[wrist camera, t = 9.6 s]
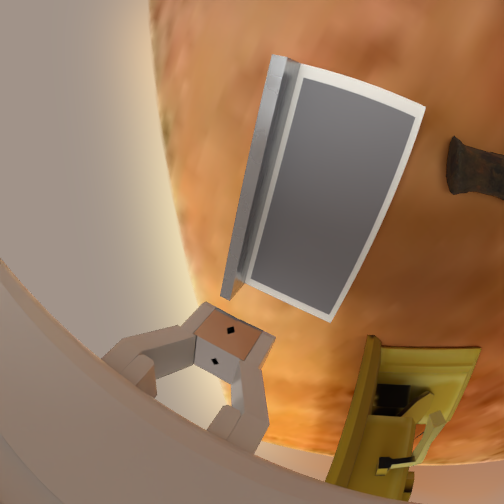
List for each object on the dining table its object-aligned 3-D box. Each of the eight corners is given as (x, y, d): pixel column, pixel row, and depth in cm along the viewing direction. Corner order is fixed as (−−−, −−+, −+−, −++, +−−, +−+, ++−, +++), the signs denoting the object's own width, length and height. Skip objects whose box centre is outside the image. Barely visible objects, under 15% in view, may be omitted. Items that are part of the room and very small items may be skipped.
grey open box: (419, 107, 18) (432, 106, 13) (338, 299, 29) (322, 345, 24) (302, 66, 20) (272, 54, 15) (252, 260, 32) (220, 295, 26)
